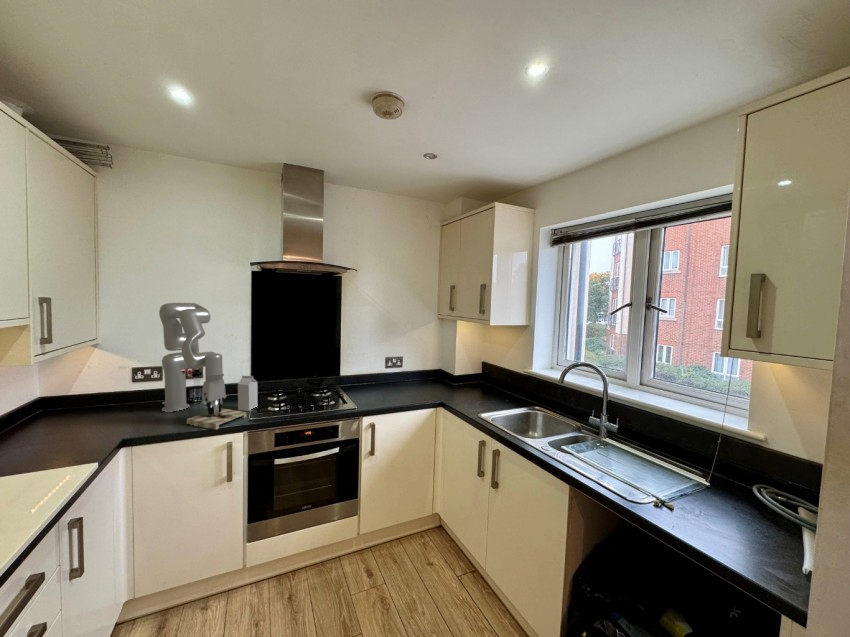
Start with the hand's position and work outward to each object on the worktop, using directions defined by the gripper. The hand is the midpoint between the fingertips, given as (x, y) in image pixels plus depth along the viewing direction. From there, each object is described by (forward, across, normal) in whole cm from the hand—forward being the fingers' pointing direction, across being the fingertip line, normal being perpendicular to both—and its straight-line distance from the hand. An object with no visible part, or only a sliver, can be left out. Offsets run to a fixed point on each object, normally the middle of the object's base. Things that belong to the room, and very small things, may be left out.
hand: (214, 412), depth 174 cm
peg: (+4, 0, 0) cm, 4 cm away
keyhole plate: (+4, 0, +2) cm, 4 cm away
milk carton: (+4, -20, +1) cm, 20 cm away
